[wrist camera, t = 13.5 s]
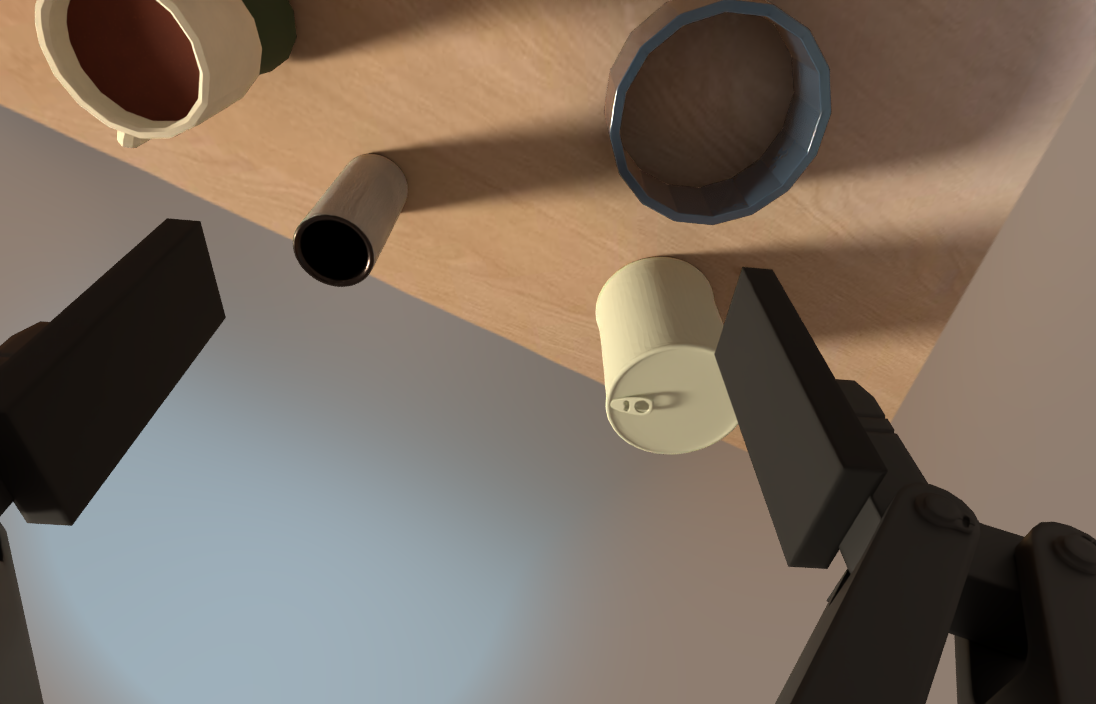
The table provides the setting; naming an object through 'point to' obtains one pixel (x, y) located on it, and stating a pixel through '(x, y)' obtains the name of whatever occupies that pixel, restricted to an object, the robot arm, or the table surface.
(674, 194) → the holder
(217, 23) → the character mug
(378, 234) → the planter
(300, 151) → the table surface
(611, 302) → the can
